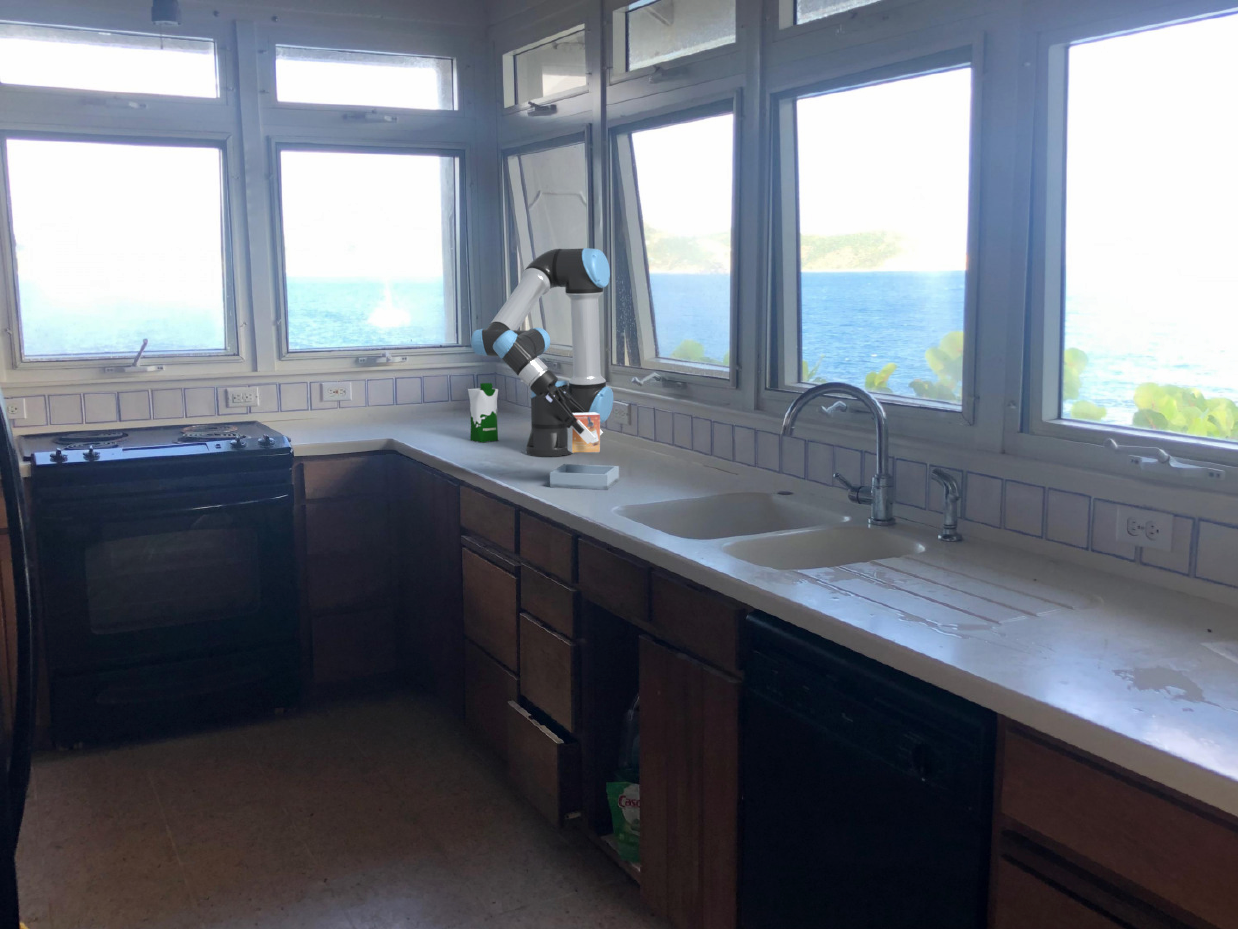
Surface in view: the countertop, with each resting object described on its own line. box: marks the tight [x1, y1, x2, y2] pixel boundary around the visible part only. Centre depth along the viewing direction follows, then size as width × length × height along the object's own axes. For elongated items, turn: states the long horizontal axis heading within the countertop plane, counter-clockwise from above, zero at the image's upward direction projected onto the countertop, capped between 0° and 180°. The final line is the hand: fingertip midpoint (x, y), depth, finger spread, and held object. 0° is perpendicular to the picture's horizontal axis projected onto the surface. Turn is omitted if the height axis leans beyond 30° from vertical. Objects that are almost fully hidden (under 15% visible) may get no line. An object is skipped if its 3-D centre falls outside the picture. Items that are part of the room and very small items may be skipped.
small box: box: [568, 412, 601, 454], centre depth 295 cm, size 8×6×10 cm
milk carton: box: [467, 382, 499, 443], centre depth 373 cm, size 9×9×20 cm
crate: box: [549, 463, 620, 491], centre depth 298 cm, size 14×16×4 cm
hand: (595, 438), depth 295 cm, fingers closed on small box, 8 cm apart
